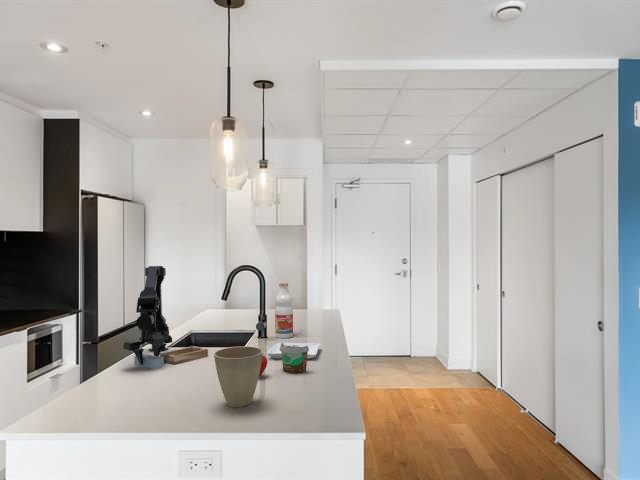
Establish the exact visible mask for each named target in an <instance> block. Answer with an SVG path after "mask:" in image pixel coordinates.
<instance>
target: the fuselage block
mask: <svg viewBox="0 0 640 480" xmlns="http://www.w3.org/2000/svg"><path fill="white" fill-rule="evenodd" d="M133 358H134V359H133V365H136V366H135V367H139V366H141V367H140V368H145V367H146V368H147V369H152V370H156V369H160V368H163V367H164V366H165V365H164V364H165V362H164V357H160V355H159V356H154V354H153V355H152V354H145V353H143V365H140V363H139V361H138V359H137V357H136V355H134V356H133ZM146 368H145V369H146Z"/></svg>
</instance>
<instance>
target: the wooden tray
mask: <svg viewBox="0 0 640 480" xmlns="http://www.w3.org/2000/svg"><path fill="white" fill-rule="evenodd" d="M159 357H164V364H165V363H166V364H169V365H173V366H175V365H179V364H182V363H183V364H184V363H187V362H192V361H196V360H199V359H204V358H208V357H209V349H208V348H204V347H200V346H195V345H193V346H188V347H184V348H179V349H175V350H174V349H173V350H169V351H165V352H160V355H159Z"/></svg>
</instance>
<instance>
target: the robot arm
mask: <svg viewBox="0 0 640 480" xmlns="http://www.w3.org/2000/svg"><path fill="white" fill-rule="evenodd" d="M166 275H167V270H166V267H164V266H163V265H152V266H151V265H150V266H149V265H148V267H145V268H144V276H145V277H146V279H145V283H144V289H143V290H142V291H140V293H139V297H138V298H137V302H136V310H135V311H136V314H137V313H139V314H140V315H139V316H138V317H137V319H136V323H135V324H136V327H137V328H138V329H139V331H140V337H139V338H138V339H139V341H137V340H135V339H134V340H127V341H124V343H123V350H125V351H126V350H127V351H132V352H133V353H134V356H136V357H137V359H138V361H139V363H140V365H143V354H144V350H145V348H143V346H148V345H150V346H151V348H148V351H152V352H153V356H159V357H160V353H162V351H166V350H169V348H168V347H166V346H167V344H171V343H173V337H172V335H170V328H169V326H168V324H167V320H166V318H165V317H164V315H163V305H162V304H163V303H162V301H163V299H162V284H163V282H164V279H165V276H166Z"/></svg>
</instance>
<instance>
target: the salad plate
mask: <svg viewBox="0 0 640 480" xmlns="http://www.w3.org/2000/svg"><path fill="white" fill-rule="evenodd" d="M282 343H283V345H286V346H299V347H304V346H308V347H309V351H308V353H307V360H310V359H314V358H315V357H316V356H317V353H318V351H319V348H320V347H321V345H322V344H321V343H312V342H311V343H309V342H305V343H304V342H276V343H274V345H273V346H272V347H271V348H269V350H268V351H267V352H266V354H267V356H268V357H271V358H273V359H277V360H282V353H281V351H280V346H281V344H282Z"/></svg>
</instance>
